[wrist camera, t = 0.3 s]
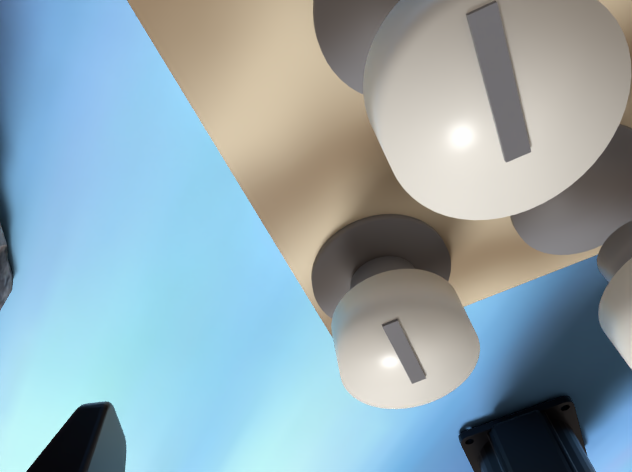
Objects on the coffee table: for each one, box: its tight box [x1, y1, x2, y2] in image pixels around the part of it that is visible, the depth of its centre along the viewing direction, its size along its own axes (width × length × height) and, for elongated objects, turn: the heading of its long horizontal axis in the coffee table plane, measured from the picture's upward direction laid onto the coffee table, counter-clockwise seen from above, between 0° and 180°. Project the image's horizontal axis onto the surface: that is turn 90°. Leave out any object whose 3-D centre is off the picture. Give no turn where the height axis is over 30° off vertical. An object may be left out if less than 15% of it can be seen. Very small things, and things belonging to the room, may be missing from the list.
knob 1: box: [331, 256, 480, 409], centre depth 20 cm, size 5×5×4 cm
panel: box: [127, 0, 632, 337], centre depth 20 cm, size 16×16×2 cm
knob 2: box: [363, 0, 631, 220], centre depth 12 cm, size 5×5×4 cm
